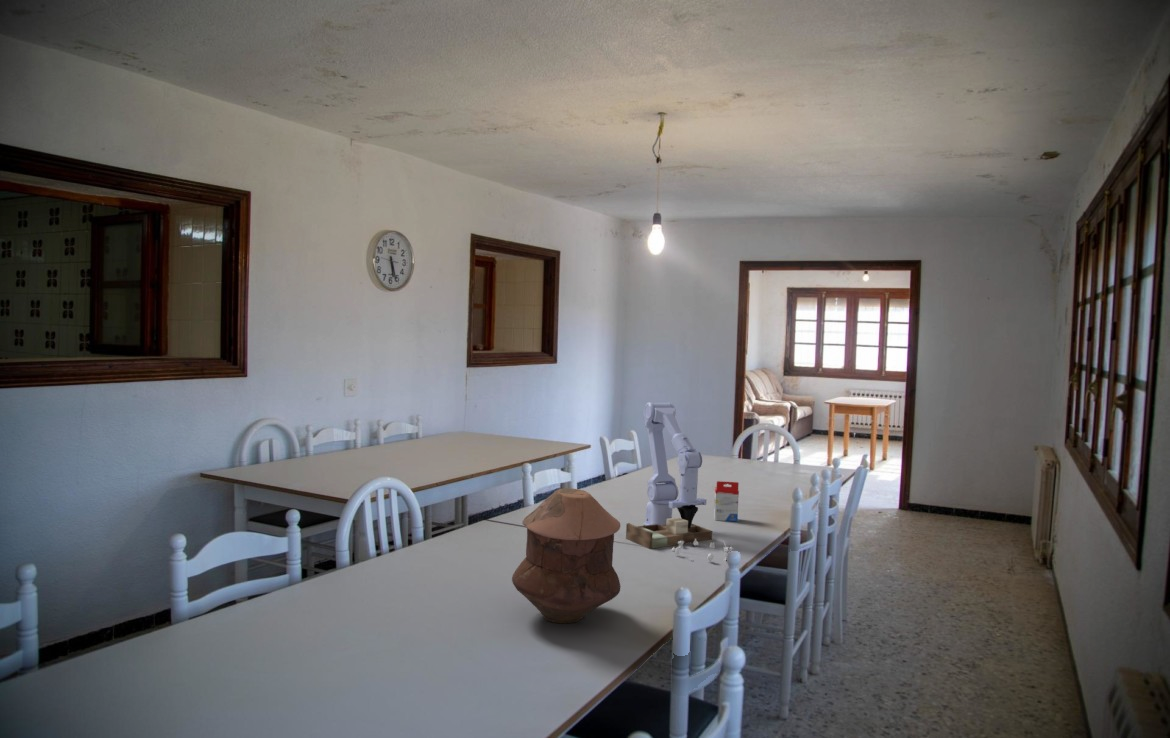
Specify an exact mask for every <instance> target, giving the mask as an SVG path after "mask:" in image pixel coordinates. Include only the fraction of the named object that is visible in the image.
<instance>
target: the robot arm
mask: <svg viewBox="0 0 1170 738" xmlns="http://www.w3.org/2000/svg"><path fill="white" fill-rule="evenodd" d="M642 411H643V419H644V426H645V427H646V428H647V435H648V444H649V448H650V449H649V450H650V458H651V465H652V471H653V475H652V476H651V477H650V478H649V479H648V481H647V491H646V493H647V498H648V500H649V501H648V502H647V504H646V507H645V521H644V522H643V523H642V524H643V525H642V526H644V525H653V524H659V525H666V521H667V519H669V518H673V510H674V509H677V511H678V513H679V516H680V518H682V519H684V520H687V521H688V529H689V528H690V527H691V523H692V524H693V519H694V518H695V516H696V514H697V512H699V507H698V506H706V505H707V499H706V498H703V497H701V498H698V483H699V482H698V480H699V478H698V477H699V469H700V468H701V467H702V464H703V456H702V454H701V452H700V451H699V450H697V449H696V448H694V447H693V445H692V443H691V442H690V439H689V438H688V435H687V434H685V433H682V431H681V428H680V426H679V424H678V422H677V418H676V409H675V405H674V404H673V403H672V402H671V401H668V402H649V401H648V402H647V403H646V404H645V406H644V408H643V410H642ZM664 428H665V429H666V430H667V432H668V433H669V435H670V437H671V438H672V439H671V441H670V442H671V444H672V447H673V449H674V451H675V453H676V455H677V457H678V458H677V465H678V472H679V474H680V479H679V482H680V484H679V487H678V486H677V483H676V478H675V477H673V476H672V475H671V474H670V473H669V469H668V462H667V455H666V448H665V447H666V446H665V440H664V433H663V430H664ZM678 497H679V499H678Z"/></svg>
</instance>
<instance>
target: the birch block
mask: <svg viewBox="0 0 1170 738" xmlns="http://www.w3.org/2000/svg"><path fill="white" fill-rule="evenodd" d="M666 531H668V532H671V533H673V534H683V533H688V521H687V520H684V519H682V518H681V517H672V518H669V519H667V521H666Z"/></svg>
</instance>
